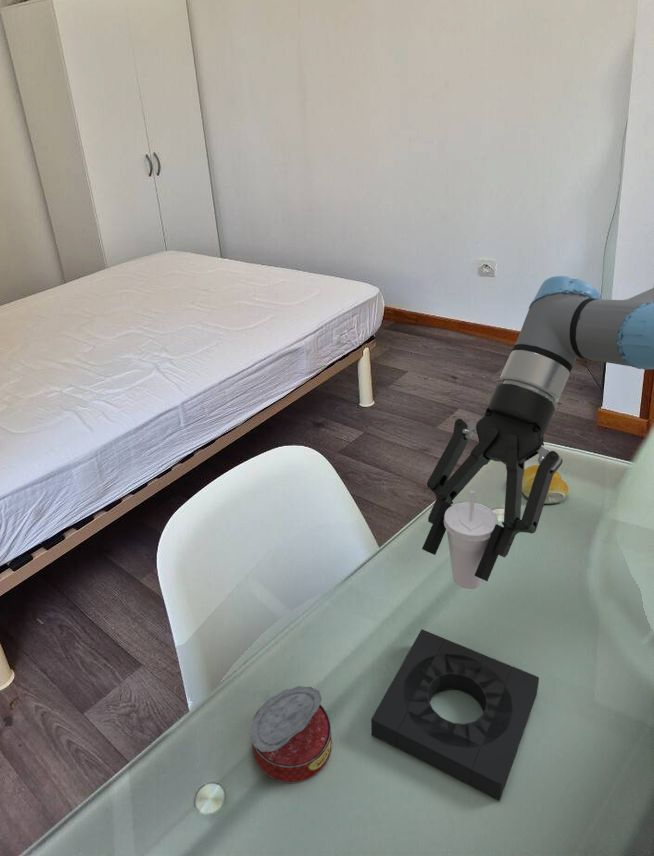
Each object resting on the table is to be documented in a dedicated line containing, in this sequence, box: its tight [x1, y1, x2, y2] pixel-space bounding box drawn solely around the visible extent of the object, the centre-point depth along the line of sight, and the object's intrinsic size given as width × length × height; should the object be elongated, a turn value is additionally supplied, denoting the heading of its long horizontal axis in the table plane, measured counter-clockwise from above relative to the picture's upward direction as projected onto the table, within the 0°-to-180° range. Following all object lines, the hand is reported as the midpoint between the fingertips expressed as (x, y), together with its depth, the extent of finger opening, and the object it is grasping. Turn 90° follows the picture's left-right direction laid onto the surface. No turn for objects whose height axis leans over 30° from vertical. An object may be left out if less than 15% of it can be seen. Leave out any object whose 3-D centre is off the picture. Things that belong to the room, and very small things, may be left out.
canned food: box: [249, 685, 333, 784], centre depth 84 cm, size 11×10×10 cm
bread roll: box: [522, 464, 570, 505], centre depth 126 cm, size 8×9×4 cm
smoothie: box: [444, 489, 499, 590], centre depth 84 cm, size 6×6×14 cm
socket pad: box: [370, 628, 540, 802], centre depth 87 cm, size 16×16×3 cm
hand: (454, 564), depth 83 cm, fingers closed on smoothie, 6 cm apart
